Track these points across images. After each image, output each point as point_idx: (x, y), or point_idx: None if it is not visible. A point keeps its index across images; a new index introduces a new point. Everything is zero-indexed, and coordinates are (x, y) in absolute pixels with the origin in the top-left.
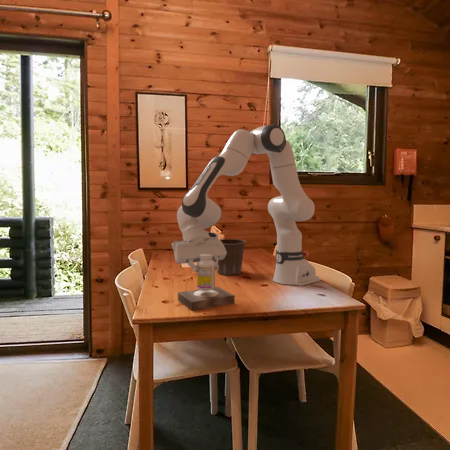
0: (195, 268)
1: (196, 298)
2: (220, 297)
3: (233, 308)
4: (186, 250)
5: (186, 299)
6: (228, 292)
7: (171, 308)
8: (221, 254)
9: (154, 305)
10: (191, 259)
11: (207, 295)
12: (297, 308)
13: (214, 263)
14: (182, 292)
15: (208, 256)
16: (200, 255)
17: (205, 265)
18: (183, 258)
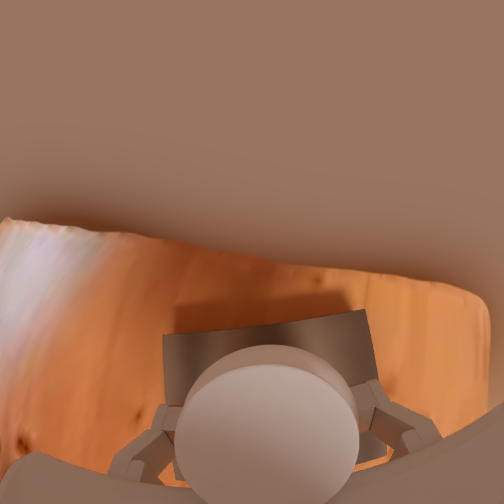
0: (376, 383)
1: (335, 351)
2: (229, 330)
3: (203, 292)
4: (498, 496)
5: (374, 363)
6: (167, 383)
7: (415, 359)
8: (62, 463)
9: (455, 400)
10: (422, 445)
11: None
12: (68, 232)
13: (193, 385)
14: (369, 451)
15: (258, 363)
16: (356, 423)
17: (301, 349)
18: (497, 407)
